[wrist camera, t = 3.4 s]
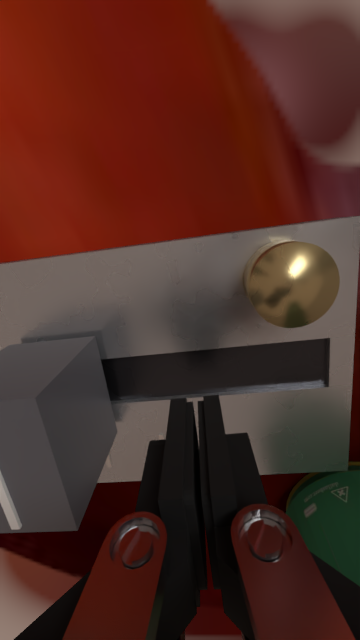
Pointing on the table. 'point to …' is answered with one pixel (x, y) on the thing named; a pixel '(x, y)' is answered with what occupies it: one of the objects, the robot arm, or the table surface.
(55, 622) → the robot arm
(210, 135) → the table surface
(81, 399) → the fader cap
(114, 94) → the table surface
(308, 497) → the beverage can
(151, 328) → the console
